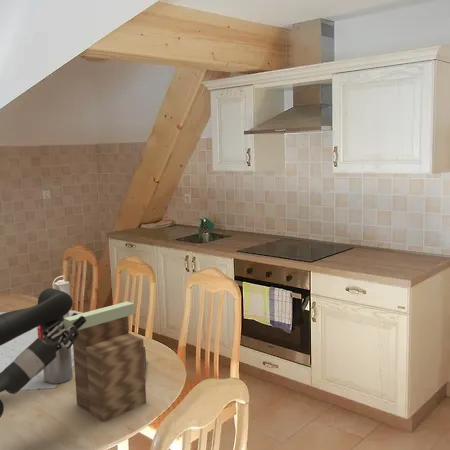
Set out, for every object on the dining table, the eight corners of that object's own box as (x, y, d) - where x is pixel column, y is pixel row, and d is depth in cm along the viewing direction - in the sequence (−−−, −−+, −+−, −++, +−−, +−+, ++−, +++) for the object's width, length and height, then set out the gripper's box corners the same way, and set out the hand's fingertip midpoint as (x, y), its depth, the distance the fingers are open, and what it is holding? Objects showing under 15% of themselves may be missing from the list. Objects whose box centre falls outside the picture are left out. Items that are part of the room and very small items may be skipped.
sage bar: (70, 332, 152) (69, 320, 151) (64, 329, 154) (63, 318, 154) (134, 314, 168) (133, 303, 167) (127, 311, 170) (127, 301, 170)
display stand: (104, 421, 161) (98, 328, 156) (77, 404, 172) (71, 316, 167) (146, 402, 172) (142, 314, 167) (118, 387, 183) (113, 304, 178)
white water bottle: (58, 335, 235) (53, 275, 231) (76, 335, 235) (72, 274, 231) (51, 343, 227) (46, 280, 223) (70, 342, 227) (65, 279, 222)
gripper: (39, 356, 140) (87, 312, 149) (16, 343, 150) (62, 302, 159) (54, 375, 144) (99, 330, 153) (30, 361, 153) (74, 320, 163)
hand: (80, 316), depth 156 cm, fingers closed on sage bar, 3 cm apart
